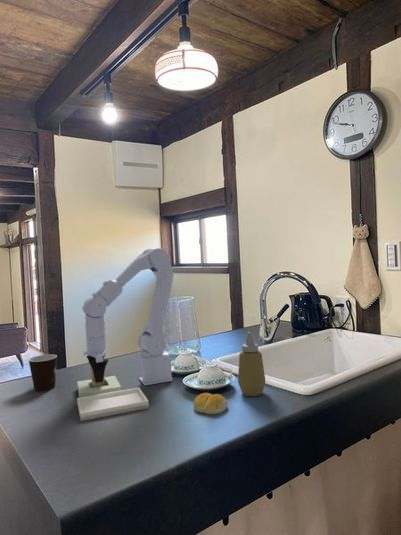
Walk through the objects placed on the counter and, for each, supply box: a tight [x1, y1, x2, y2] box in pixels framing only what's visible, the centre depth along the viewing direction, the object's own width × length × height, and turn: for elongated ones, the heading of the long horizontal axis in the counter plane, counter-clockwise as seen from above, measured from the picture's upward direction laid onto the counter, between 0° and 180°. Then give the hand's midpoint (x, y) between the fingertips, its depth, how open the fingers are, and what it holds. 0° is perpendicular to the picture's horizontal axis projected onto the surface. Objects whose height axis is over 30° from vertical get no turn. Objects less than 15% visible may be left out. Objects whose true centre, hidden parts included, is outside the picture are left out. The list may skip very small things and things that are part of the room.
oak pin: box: [90, 366, 106, 388], centre depth 121 cm, size 4×4×8 cm
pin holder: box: [76, 375, 122, 398], centre depth 121 cm, size 12×12×2 cm
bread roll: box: [193, 392, 229, 415], centre depth 105 cm, size 8×9×4 cm
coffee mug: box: [28, 354, 58, 393], centre depth 129 cm, size 12×9×10 cm
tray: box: [76, 387, 150, 422], centre depth 109 cm, size 18×12×2 cm, turn 111°
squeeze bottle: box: [237, 331, 266, 397], centre depth 114 cm, size 8×8×18 cm
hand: (98, 379), depth 121 cm, fingers open, 5 cm apart
